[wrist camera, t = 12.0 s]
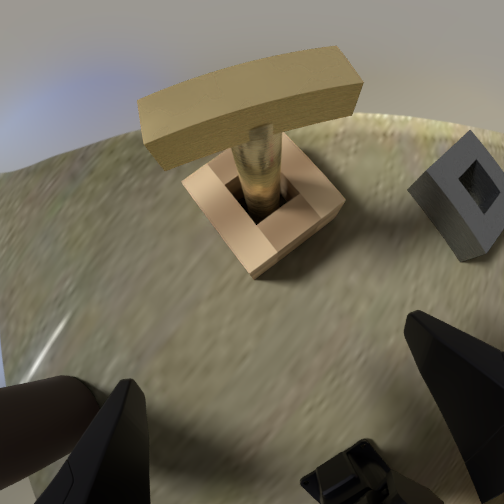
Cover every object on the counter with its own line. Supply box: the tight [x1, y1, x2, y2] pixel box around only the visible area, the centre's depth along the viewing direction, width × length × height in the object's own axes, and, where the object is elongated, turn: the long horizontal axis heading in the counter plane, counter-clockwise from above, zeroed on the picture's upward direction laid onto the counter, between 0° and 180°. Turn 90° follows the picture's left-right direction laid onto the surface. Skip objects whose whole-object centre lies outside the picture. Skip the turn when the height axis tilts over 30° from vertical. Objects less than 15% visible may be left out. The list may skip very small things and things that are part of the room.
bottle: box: [0, 375, 100, 490], centre depth 12 cm, size 7×7×20 cm
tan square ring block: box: [182, 132, 346, 280], centre depth 22 cm, size 8×8×4 cm
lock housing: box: [407, 130, 504, 262], centre depth 20 cm, size 8×8×4 cm
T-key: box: [137, 46, 364, 224], centre depth 16 cm, size 8×2×15 cm, turn 108°
